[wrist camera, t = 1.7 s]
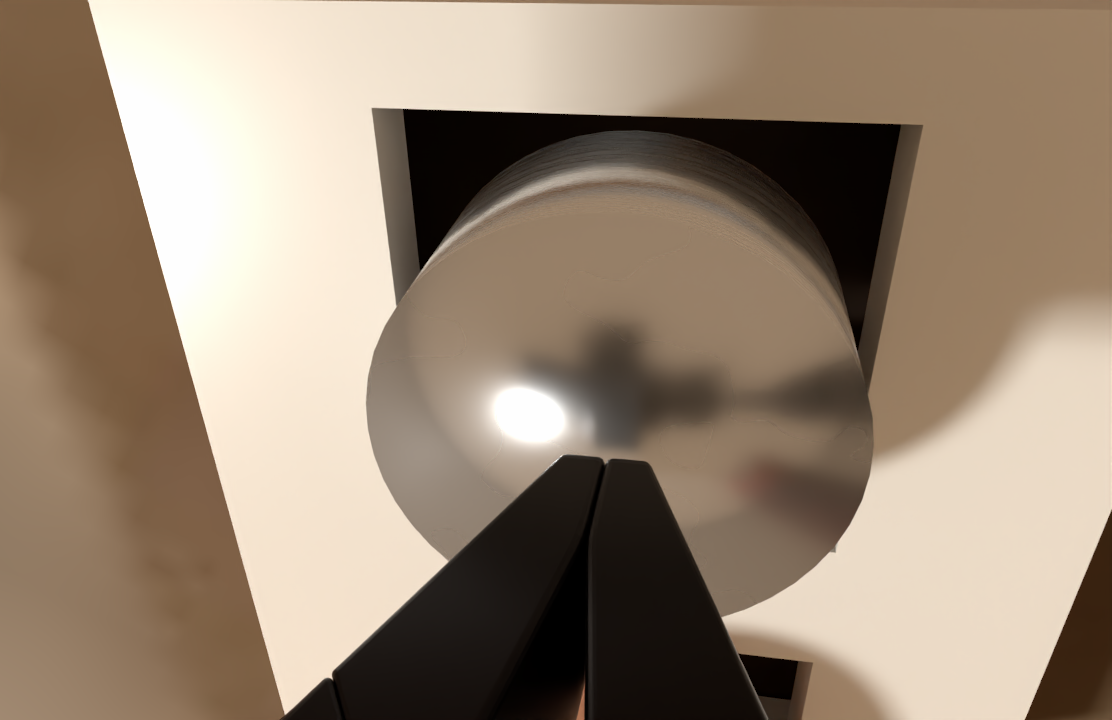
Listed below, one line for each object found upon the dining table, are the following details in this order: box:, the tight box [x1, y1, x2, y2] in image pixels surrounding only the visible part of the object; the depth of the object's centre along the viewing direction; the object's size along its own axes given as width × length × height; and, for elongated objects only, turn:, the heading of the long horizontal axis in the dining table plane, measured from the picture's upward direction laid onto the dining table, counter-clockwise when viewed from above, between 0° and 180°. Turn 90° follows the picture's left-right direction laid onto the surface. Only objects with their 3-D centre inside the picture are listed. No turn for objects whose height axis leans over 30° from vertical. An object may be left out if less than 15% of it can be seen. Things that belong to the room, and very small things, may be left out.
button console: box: [88, 0, 1112, 720], centre depth 14 cm, size 12×16×4 cm
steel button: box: [366, 130, 874, 617], centre depth 10 cm, size 5×5×2 cm
